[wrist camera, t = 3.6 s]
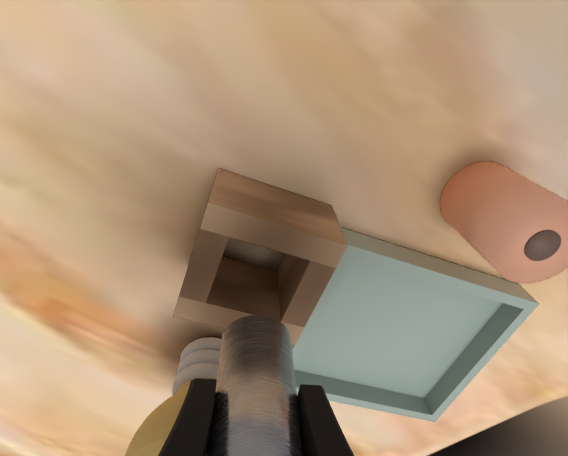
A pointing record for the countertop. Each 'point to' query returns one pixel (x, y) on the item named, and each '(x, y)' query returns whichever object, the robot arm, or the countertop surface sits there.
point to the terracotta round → (508, 221)
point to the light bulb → (176, 396)
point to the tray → (404, 329)
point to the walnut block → (267, 233)
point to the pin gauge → (255, 392)
